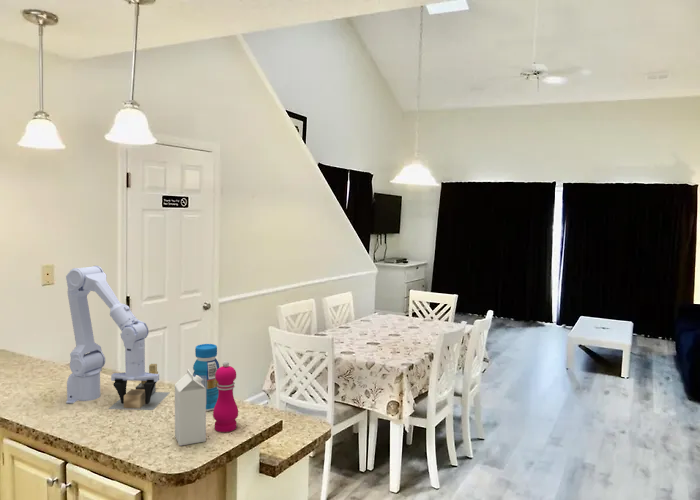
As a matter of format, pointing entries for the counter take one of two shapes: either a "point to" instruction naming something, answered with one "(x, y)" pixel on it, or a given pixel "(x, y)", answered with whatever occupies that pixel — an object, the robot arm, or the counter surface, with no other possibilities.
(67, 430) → the counter surface
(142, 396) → the oak cover
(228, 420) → the pepper mill
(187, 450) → the counter surface
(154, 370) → the latch bolt
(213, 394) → the beverage bottle
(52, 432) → the counter surface
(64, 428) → the counter surface
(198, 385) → the milk carton
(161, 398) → the housing plate
